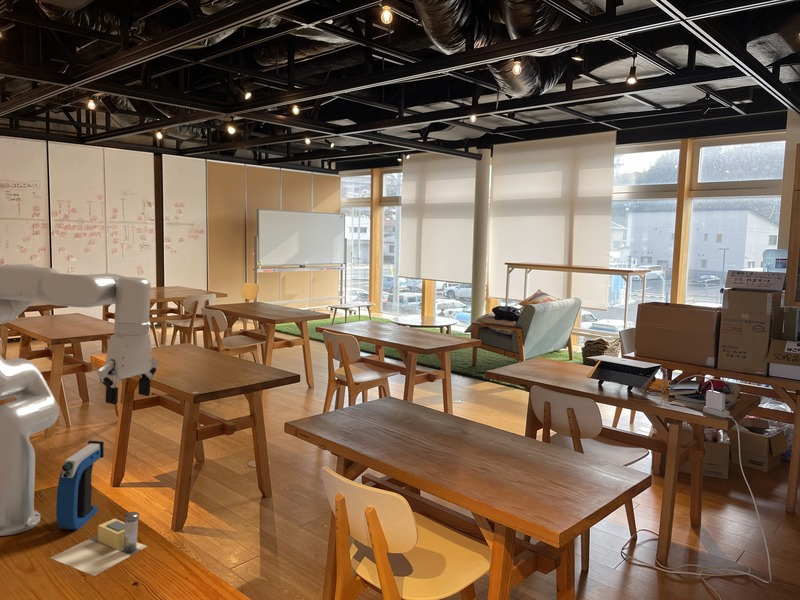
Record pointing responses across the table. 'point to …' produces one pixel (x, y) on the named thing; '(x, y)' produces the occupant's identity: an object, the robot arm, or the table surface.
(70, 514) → the handheld scanner
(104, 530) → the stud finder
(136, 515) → the steel pin
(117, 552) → the white square mat
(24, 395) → the robot arm
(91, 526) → the table surface
